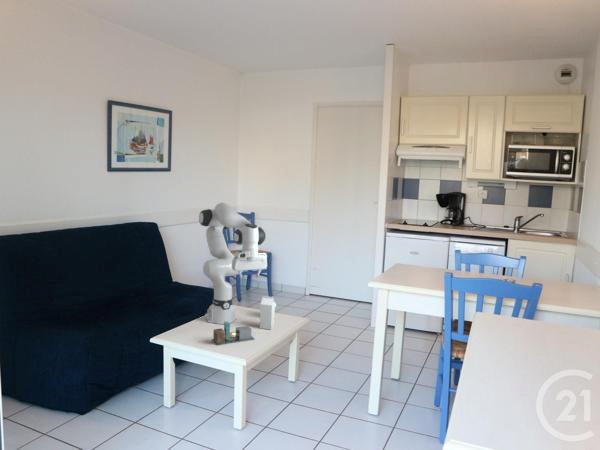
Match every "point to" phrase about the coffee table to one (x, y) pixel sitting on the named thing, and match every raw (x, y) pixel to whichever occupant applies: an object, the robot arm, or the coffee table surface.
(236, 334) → the rod
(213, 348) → the coffee table surface
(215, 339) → the socket
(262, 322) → the milk carton
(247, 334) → the grey base plate
